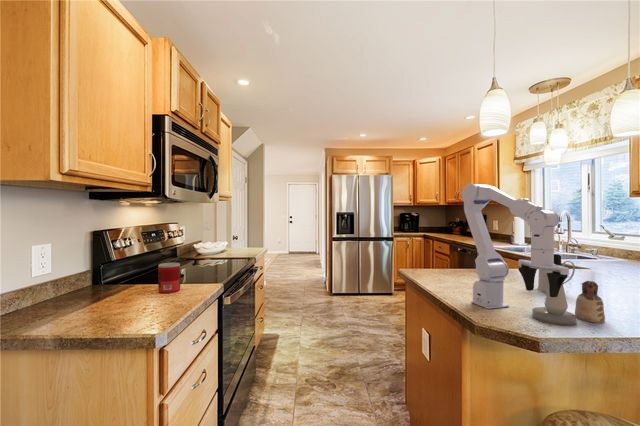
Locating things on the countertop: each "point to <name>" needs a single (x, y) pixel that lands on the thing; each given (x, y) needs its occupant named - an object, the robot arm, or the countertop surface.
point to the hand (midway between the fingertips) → (541, 293)
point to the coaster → (553, 317)
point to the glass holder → (542, 277)
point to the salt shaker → (556, 302)
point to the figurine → (590, 304)
